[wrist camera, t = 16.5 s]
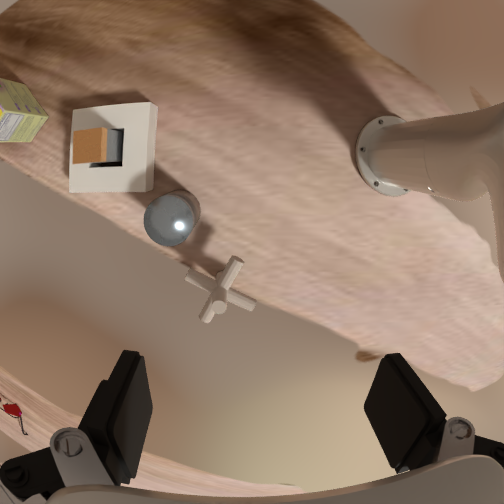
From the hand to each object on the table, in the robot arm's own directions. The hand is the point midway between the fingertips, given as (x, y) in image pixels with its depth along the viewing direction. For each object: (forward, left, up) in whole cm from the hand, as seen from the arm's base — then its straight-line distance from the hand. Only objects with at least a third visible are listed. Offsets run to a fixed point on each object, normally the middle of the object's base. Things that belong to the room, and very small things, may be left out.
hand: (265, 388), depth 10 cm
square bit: (+19, -10, -33) cm, 40 cm away
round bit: (+9, -1, -33) cm, 35 cm away
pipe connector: (+2, +9, -34) cm, 35 cm away
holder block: (+19, -10, -33) cm, 40 cm away
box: (+38, -18, -34) cm, 54 cm away
